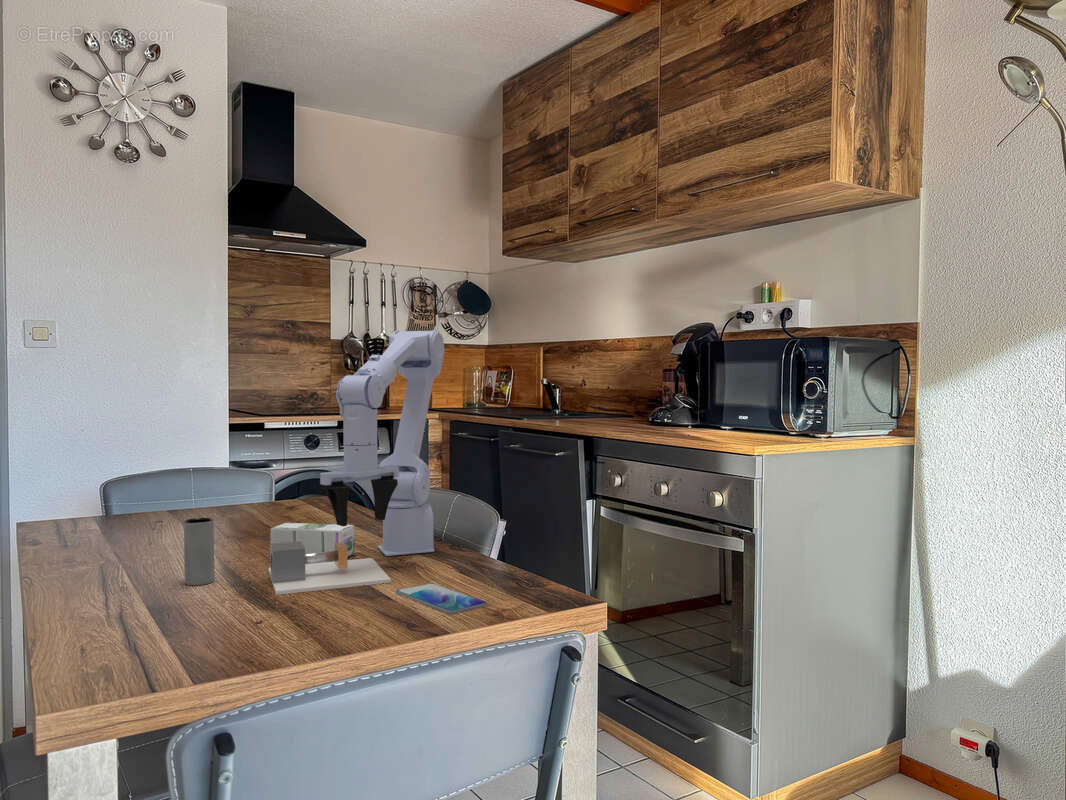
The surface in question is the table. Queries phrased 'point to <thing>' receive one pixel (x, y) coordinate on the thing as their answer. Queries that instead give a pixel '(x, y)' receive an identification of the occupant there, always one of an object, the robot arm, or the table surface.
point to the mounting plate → (334, 577)
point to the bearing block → (287, 561)
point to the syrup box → (314, 536)
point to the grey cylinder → (199, 551)
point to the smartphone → (441, 598)
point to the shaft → (330, 556)
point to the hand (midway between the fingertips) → (361, 522)
